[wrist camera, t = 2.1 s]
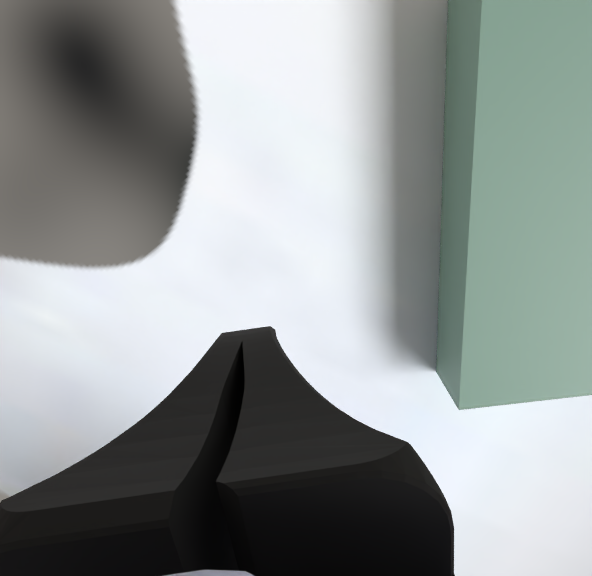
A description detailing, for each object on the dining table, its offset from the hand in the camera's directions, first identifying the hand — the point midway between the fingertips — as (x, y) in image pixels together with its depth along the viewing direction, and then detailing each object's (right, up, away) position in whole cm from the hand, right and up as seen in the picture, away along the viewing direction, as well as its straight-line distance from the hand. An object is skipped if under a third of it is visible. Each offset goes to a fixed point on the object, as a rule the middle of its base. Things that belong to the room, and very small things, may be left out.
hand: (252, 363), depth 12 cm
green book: (+13, +6, +9) cm, 17 cm away
